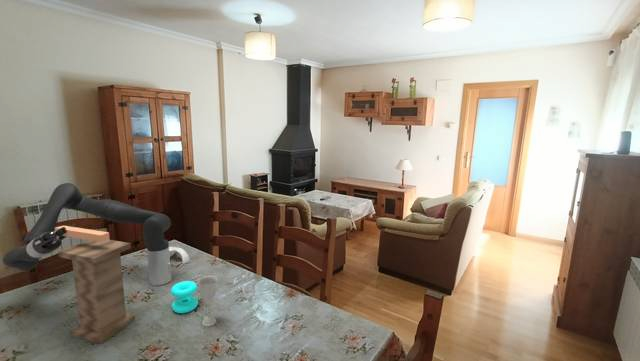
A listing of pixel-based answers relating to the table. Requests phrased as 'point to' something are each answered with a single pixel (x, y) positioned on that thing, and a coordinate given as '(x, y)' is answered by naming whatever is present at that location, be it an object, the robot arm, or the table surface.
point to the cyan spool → (184, 297)
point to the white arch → (184, 255)
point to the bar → (85, 234)
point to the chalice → (208, 296)
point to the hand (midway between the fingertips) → (70, 227)
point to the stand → (99, 289)
